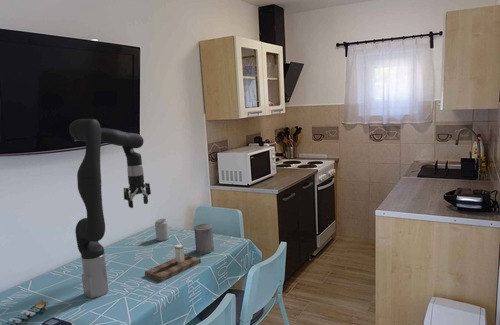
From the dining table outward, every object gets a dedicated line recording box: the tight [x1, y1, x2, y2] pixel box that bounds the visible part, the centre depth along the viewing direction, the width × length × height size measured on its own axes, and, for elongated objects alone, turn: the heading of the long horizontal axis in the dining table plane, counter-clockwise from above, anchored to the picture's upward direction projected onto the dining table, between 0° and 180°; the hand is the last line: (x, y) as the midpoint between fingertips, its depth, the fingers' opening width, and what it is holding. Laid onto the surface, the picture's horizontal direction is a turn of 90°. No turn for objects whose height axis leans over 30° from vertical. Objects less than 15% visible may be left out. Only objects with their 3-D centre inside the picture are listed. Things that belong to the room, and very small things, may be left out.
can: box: [154, 218, 170, 242], centre depth 233 cm, size 8×8×12 cm
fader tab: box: [174, 244, 185, 264], centre depth 192 cm, size 2×4×9 cm
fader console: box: [144, 253, 202, 283], centre depth 189 cm, size 25×12×2 cm, turn 141°
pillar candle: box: [193, 223, 215, 255], centre depth 210 cm, size 10×10×15 cm
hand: (138, 205), depth 195 cm, fingers open, 8 cm apart
